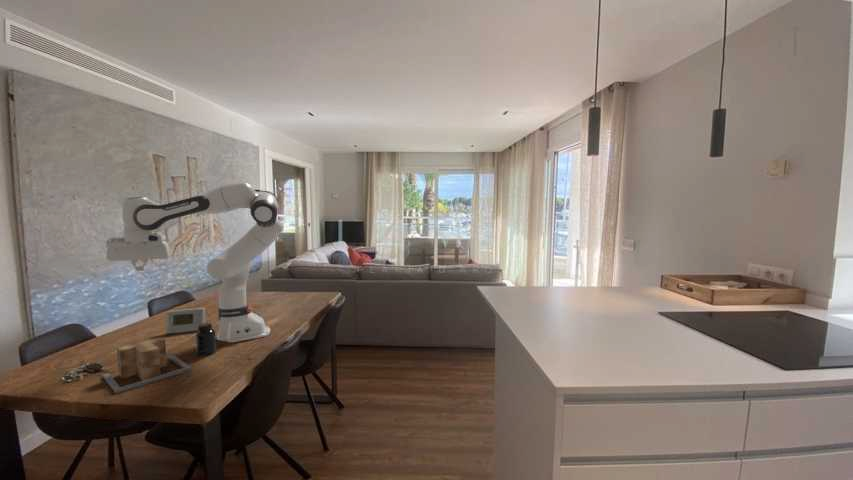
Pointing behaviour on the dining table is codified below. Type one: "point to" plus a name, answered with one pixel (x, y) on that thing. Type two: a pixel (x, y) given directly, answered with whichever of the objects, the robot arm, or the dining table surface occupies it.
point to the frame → (118, 389)
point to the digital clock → (184, 320)
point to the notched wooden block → (142, 359)
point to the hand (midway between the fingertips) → (140, 270)
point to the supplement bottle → (205, 339)
